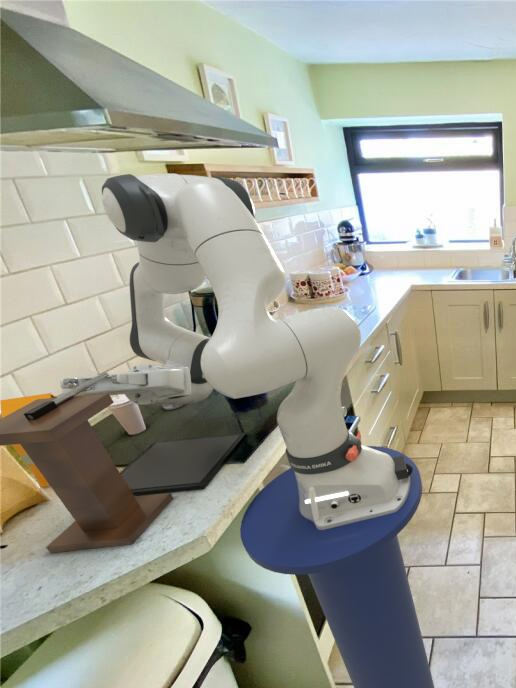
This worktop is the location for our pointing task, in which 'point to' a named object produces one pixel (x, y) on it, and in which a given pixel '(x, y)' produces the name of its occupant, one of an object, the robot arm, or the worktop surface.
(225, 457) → the tablet
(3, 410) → the orange juice
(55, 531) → the worktop surface
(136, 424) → the smoothie
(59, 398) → the stylus
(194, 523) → the worktop surface
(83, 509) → the brown wooden pedestal
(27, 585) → the worktop surface
